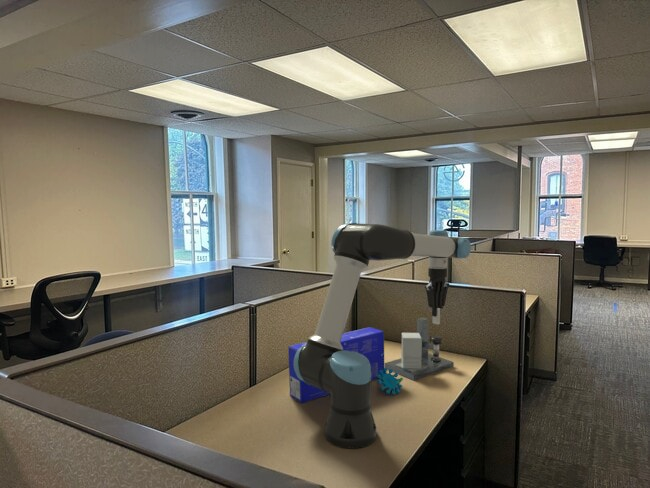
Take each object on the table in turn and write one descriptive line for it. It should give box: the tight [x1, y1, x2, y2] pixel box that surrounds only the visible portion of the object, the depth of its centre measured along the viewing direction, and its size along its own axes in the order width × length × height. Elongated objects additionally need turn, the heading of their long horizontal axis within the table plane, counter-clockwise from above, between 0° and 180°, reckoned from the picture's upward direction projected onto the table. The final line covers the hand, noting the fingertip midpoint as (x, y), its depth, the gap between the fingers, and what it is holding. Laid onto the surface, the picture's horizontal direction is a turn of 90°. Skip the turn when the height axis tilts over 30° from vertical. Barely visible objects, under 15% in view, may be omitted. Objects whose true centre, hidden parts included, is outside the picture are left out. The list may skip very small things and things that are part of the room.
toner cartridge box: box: [287, 326, 385, 404], centre depth 158 cm, size 39×8×18 cm, turn 125°
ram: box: [429, 335, 444, 357], centre depth 179 cm, size 5×5×8 cm
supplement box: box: [400, 332, 422, 369], centre depth 172 cm, size 7×7×13 cm
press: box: [384, 317, 455, 381], centre depth 176 cm, size 24×16×18 cm, turn 126°
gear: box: [377, 367, 404, 396], centre depth 155 cm, size 11×6×10 cm
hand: (436, 323), depth 178 cm, fingers closed
